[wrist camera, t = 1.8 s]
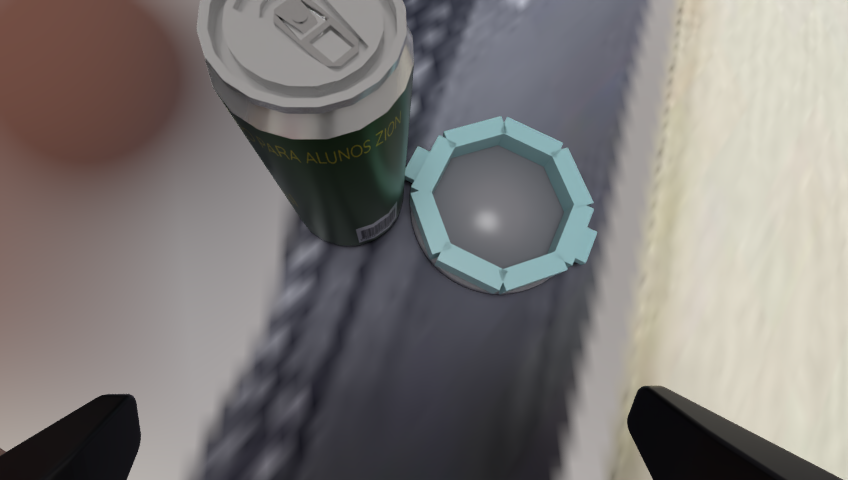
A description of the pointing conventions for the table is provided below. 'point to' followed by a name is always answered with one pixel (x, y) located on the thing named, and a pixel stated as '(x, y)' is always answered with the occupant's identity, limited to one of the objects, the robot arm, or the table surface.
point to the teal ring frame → (499, 206)
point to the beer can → (319, 102)
